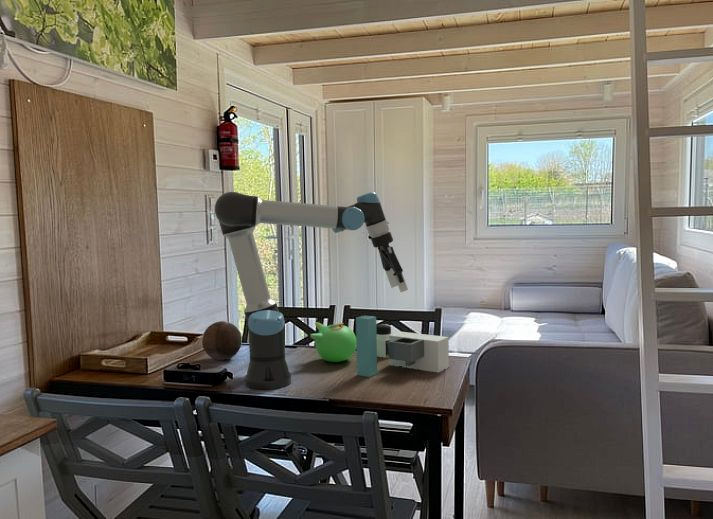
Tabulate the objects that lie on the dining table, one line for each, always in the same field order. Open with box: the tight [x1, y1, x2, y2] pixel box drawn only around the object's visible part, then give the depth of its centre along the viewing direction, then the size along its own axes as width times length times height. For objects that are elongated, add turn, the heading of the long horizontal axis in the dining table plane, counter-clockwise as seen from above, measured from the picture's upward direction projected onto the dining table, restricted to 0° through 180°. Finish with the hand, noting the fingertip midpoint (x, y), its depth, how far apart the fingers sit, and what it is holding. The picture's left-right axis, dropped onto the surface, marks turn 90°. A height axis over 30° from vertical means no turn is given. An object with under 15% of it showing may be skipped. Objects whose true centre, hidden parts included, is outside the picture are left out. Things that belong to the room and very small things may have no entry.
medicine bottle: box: [376, 323, 392, 359], centre depth 229 cm, size 7×7×12 cm
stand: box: [388, 331, 450, 373], centre depth 212 cm, size 20×8×11 cm, turn 54°
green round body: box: [309, 321, 357, 363], centre depth 222 cm, size 18×17×15 cm
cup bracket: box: [388, 337, 424, 366], centre depth 205 cm, size 9×9×9 cm
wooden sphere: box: [201, 320, 243, 361], centre depth 228 cm, size 15×15×15 cm
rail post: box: [355, 315, 378, 378], centre depth 202 cm, size 5×5×20 cm
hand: (399, 288), depth 214 cm, fingers open, 13 cm apart
